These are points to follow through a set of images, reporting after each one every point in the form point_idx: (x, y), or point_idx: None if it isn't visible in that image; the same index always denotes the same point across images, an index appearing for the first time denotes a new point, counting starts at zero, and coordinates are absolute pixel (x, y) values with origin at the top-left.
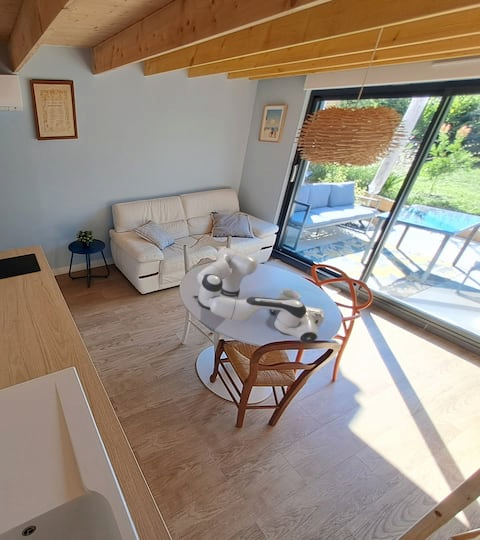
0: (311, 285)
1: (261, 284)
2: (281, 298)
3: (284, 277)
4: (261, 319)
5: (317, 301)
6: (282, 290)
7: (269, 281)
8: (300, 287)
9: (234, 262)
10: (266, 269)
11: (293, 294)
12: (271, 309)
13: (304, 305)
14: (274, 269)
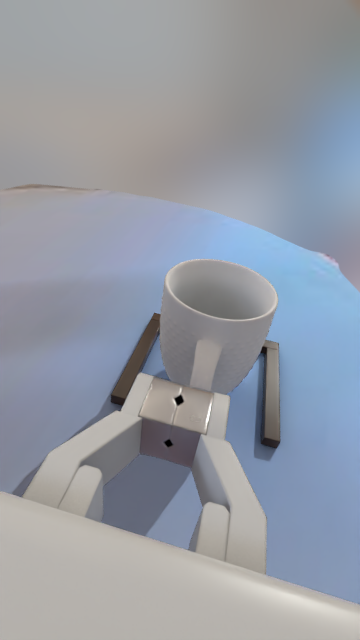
0: (334, 269)
1: (162, 256)
2: (163, 312)
3: (253, 241)
4: (10, 454)
5: (354, 330)
6: (183, 263)
7: (197, 249)
8: (297, 274)
9: None
10: (207, 218)
11: (245, 291)
12: (122, 374)
13: (238, 505)
14: (232, 220)
